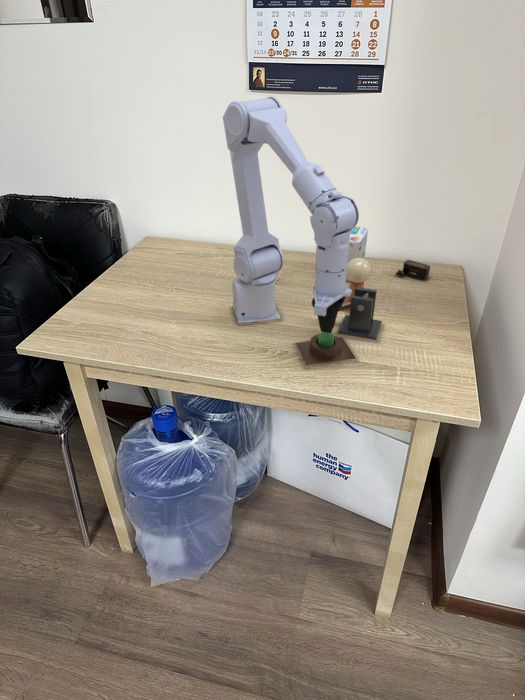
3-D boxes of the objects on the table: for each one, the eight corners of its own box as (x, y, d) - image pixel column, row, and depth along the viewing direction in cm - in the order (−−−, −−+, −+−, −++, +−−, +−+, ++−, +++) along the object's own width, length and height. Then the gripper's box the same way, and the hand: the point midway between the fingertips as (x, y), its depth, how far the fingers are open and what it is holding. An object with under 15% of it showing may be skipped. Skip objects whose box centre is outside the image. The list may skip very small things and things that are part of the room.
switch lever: (321, 322, 112) (315, 310, 111) (324, 316, 114) (319, 304, 113) (370, 309, 106) (365, 296, 105) (373, 302, 108) (368, 290, 107)
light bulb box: (340, 262, 140) (343, 224, 134) (364, 266, 138) (369, 227, 132) (329, 278, 132) (332, 238, 126) (355, 282, 130) (359, 242, 124)
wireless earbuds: (403, 270, 136) (405, 258, 134) (428, 277, 132) (431, 265, 130) (395, 276, 133) (396, 264, 131) (420, 283, 129) (423, 272, 127)
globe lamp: (345, 315, 117) (350, 266, 110) (336, 302, 122) (340, 254, 115) (372, 312, 118) (378, 263, 111) (362, 299, 123) (367, 251, 116)
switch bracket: (338, 335, 110) (341, 298, 105) (345, 319, 115) (348, 283, 110) (376, 341, 107) (381, 304, 102) (381, 325, 113) (386, 289, 108)
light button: (320, 348, 101) (320, 341, 100) (315, 340, 104) (315, 332, 103) (335, 346, 102) (336, 339, 101) (330, 338, 104) (331, 330, 103)
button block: (306, 367, 100) (307, 356, 99) (295, 345, 106) (296, 334, 105) (355, 360, 102) (356, 349, 100) (341, 339, 108) (342, 328, 107)
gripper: (344, 286, 87) (338, 353, 94) (360, 253, 98) (354, 316, 106) (304, 280, 89) (301, 346, 96) (324, 249, 100) (320, 310, 108)
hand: (326, 330), depth 101 cm, fingers closed
